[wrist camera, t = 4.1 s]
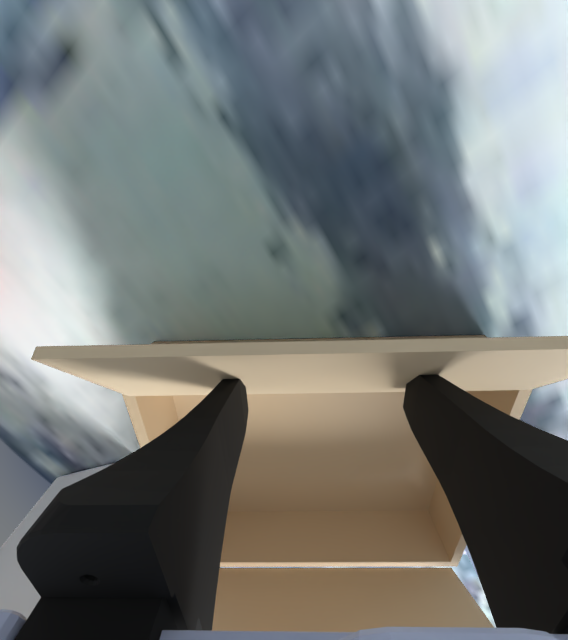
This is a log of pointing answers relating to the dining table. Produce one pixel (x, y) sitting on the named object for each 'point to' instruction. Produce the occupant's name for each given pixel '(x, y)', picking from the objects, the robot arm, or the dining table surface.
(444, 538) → the carton
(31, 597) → the milk carton
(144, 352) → the front flap
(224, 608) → the back flap
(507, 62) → the dining table surface
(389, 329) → the dining table surface
